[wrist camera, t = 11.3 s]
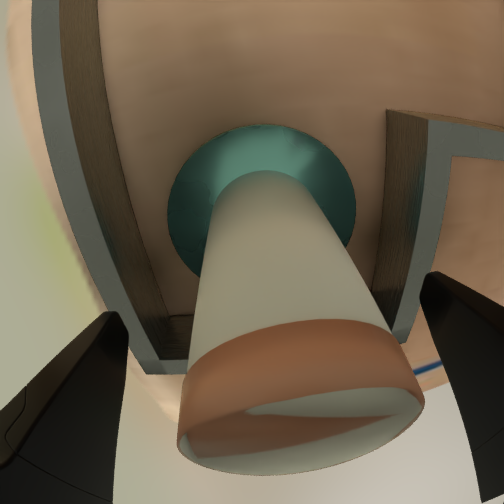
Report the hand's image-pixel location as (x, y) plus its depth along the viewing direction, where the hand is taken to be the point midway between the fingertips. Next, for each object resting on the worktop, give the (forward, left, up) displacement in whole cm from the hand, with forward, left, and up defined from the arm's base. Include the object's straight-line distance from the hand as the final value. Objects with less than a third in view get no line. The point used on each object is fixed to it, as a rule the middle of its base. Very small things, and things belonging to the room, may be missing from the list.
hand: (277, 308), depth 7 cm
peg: (0, 0, -5) cm, 5 cm away
